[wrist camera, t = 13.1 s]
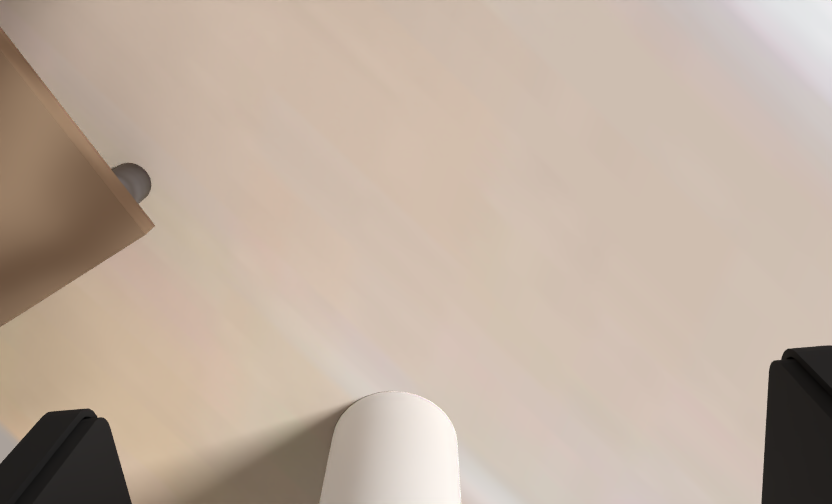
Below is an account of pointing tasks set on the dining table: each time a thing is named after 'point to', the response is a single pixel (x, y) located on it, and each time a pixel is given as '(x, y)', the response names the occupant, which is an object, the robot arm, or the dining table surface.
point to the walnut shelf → (55, 193)
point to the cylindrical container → (393, 453)
